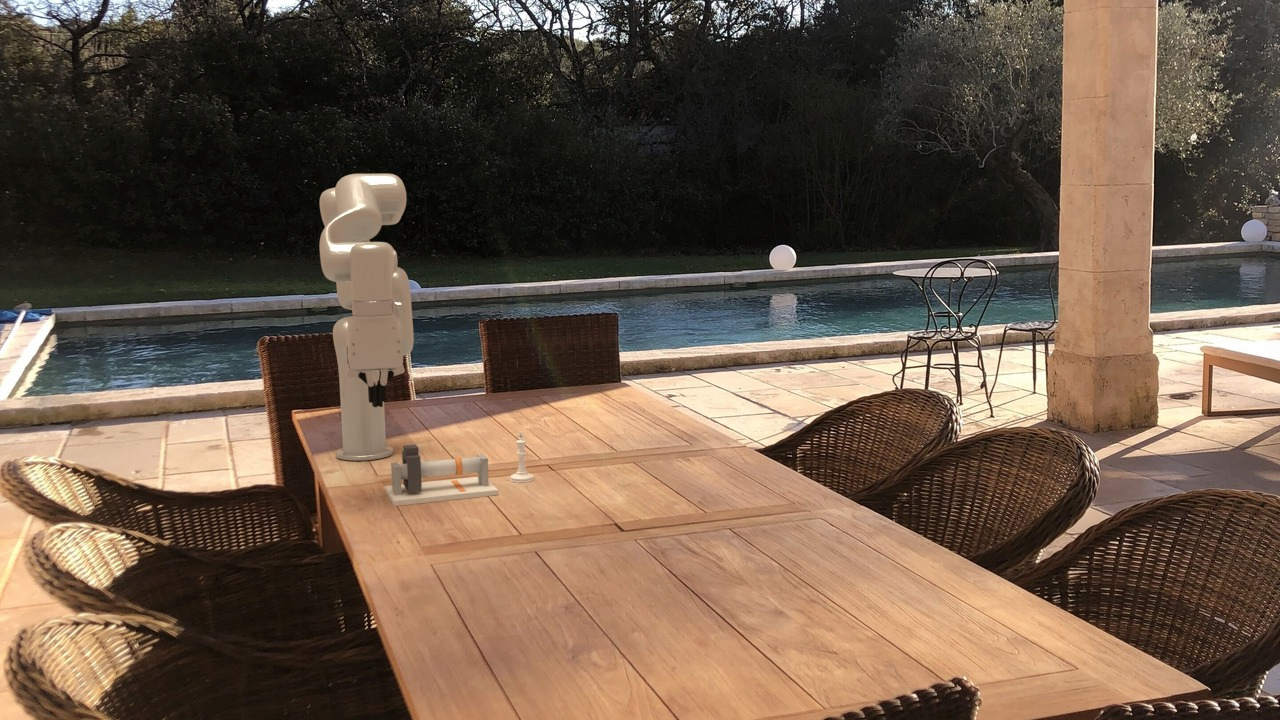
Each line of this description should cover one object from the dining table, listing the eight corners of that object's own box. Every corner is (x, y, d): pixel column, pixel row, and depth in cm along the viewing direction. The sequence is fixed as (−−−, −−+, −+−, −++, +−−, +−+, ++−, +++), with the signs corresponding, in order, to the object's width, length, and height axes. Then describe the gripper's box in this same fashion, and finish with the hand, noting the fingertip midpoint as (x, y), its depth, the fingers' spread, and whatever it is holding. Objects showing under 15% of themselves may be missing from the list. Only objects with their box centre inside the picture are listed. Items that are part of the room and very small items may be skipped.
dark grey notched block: (409, 492, 215) (407, 450, 213) (403, 484, 221) (401, 443, 220) (421, 491, 215) (420, 449, 214) (415, 483, 222) (413, 442, 220)
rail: (394, 506, 211) (392, 471, 210) (384, 491, 222) (383, 458, 221) (498, 494, 218) (497, 461, 217) (484, 480, 229) (482, 449, 228)
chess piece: (530, 483, 227) (528, 434, 226) (506, 482, 228) (505, 433, 227) (537, 477, 232) (535, 429, 231) (514, 476, 233) (513, 429, 232)
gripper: (409, 306, 217) (413, 400, 219) (329, 310, 212) (334, 406, 214) (416, 309, 210) (420, 406, 212) (334, 313, 205) (339, 412, 207)
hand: (377, 405), depth 213 cm, fingers closed
